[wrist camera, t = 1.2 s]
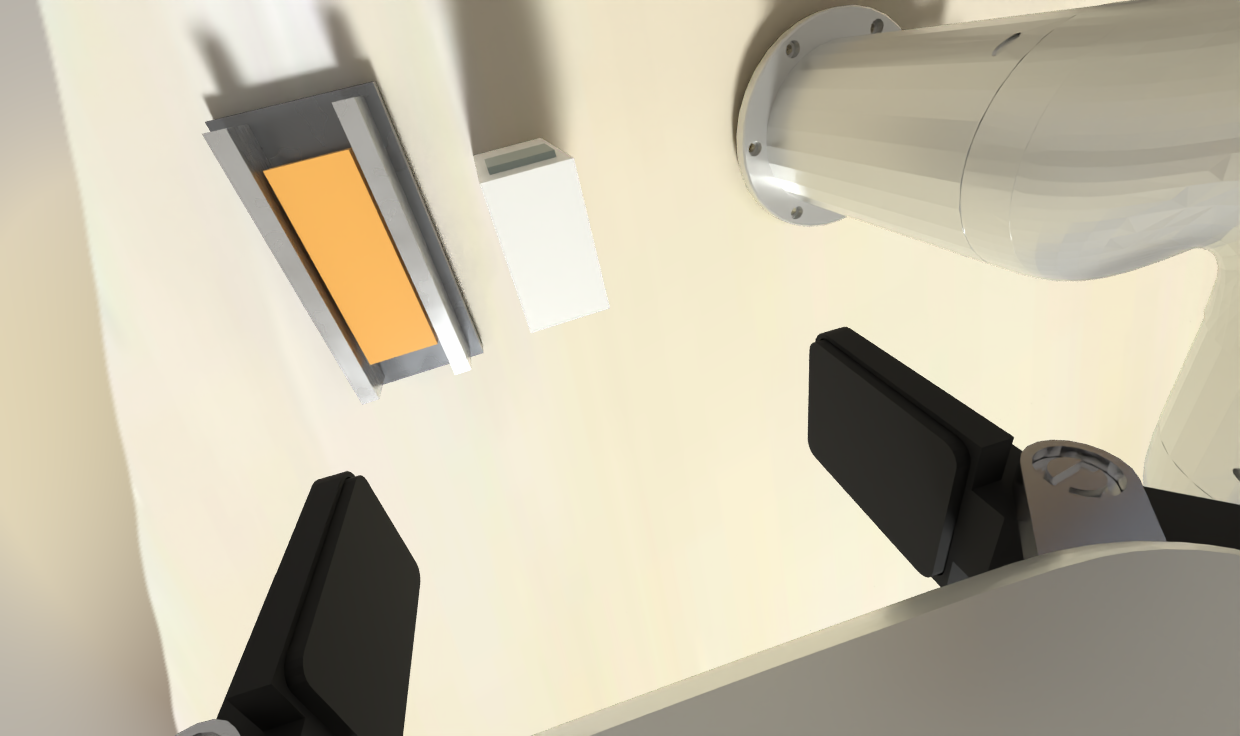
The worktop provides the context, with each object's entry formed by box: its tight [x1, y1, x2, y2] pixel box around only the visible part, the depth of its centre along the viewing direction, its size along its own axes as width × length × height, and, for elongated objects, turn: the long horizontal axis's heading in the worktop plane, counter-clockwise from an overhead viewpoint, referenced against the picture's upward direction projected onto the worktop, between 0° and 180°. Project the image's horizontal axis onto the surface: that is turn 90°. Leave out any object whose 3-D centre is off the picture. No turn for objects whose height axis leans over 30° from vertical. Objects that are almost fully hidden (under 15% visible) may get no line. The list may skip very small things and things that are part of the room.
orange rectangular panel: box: [263, 148, 438, 365], centre depth 28 cm, size 4×11×1 cm, turn 12°
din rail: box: [202, 82, 483, 404], centre depth 28 cm, size 8×16×4 cm, turn 12°
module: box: [473, 138, 610, 333], centre depth 27 cm, size 4×7×10 cm, turn 12°
